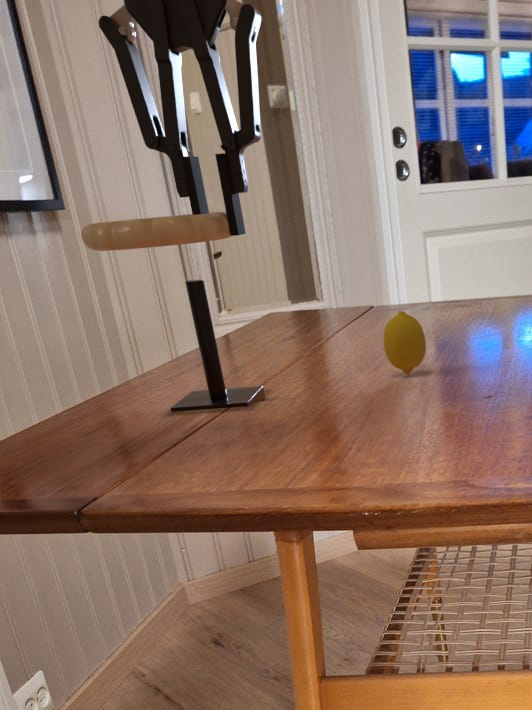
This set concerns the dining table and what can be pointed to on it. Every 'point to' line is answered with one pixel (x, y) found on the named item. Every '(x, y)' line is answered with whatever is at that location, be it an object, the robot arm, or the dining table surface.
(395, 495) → the dining table surface
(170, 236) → the lying ring
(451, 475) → the dining table surface
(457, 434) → the dining table surface
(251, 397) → the black peg stand
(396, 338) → the lemon
